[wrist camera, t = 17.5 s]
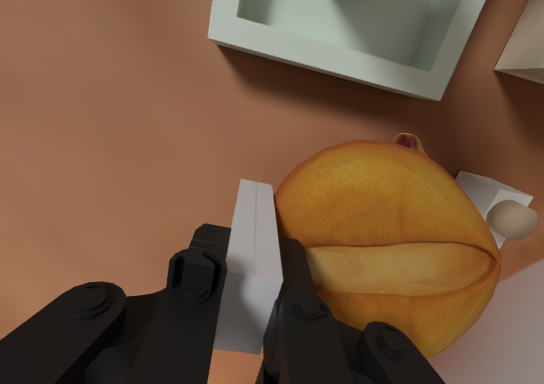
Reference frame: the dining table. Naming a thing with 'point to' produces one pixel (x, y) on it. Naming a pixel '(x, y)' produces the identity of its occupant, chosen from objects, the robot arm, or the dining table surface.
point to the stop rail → (500, 206)
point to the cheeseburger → (391, 239)
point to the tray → (354, 38)
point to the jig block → (526, 45)
